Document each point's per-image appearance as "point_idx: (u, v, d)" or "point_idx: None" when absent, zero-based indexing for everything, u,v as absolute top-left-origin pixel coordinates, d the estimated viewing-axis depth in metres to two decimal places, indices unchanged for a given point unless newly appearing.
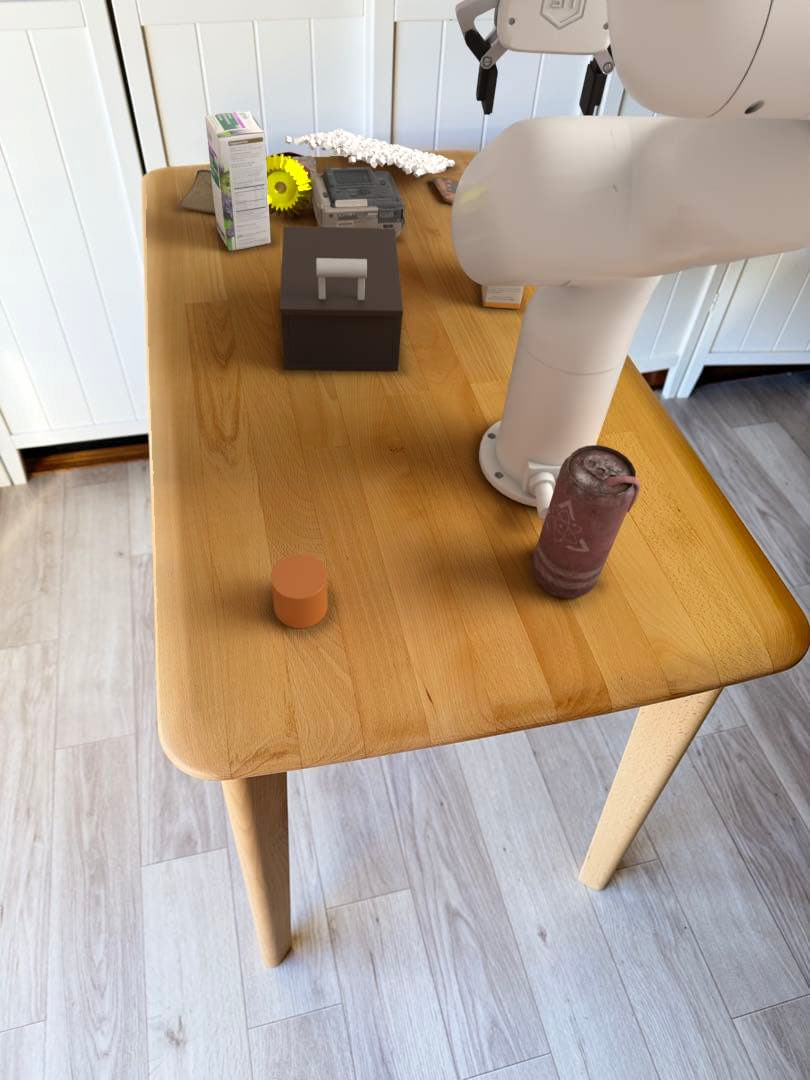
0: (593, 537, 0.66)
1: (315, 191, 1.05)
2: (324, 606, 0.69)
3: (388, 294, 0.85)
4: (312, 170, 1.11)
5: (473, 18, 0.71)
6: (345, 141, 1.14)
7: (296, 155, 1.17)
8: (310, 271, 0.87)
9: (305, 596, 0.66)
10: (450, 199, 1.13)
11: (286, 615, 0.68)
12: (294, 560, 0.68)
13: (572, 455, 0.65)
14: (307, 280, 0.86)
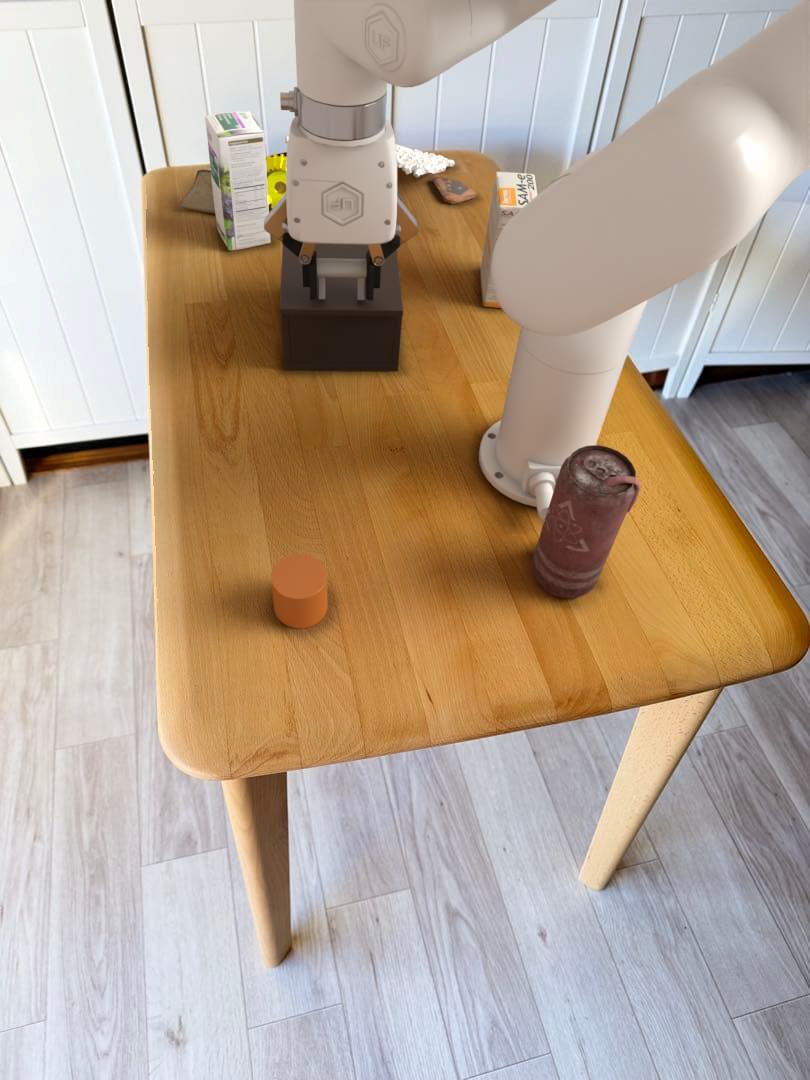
0: (593, 537, 0.66)
1: None
2: (324, 606, 0.69)
3: (388, 294, 0.85)
4: None
5: (280, 226, 0.77)
6: None
7: None
8: None
9: (305, 596, 0.66)
10: (450, 199, 1.13)
11: (286, 615, 0.68)
12: (294, 560, 0.68)
13: (572, 455, 0.65)
14: None
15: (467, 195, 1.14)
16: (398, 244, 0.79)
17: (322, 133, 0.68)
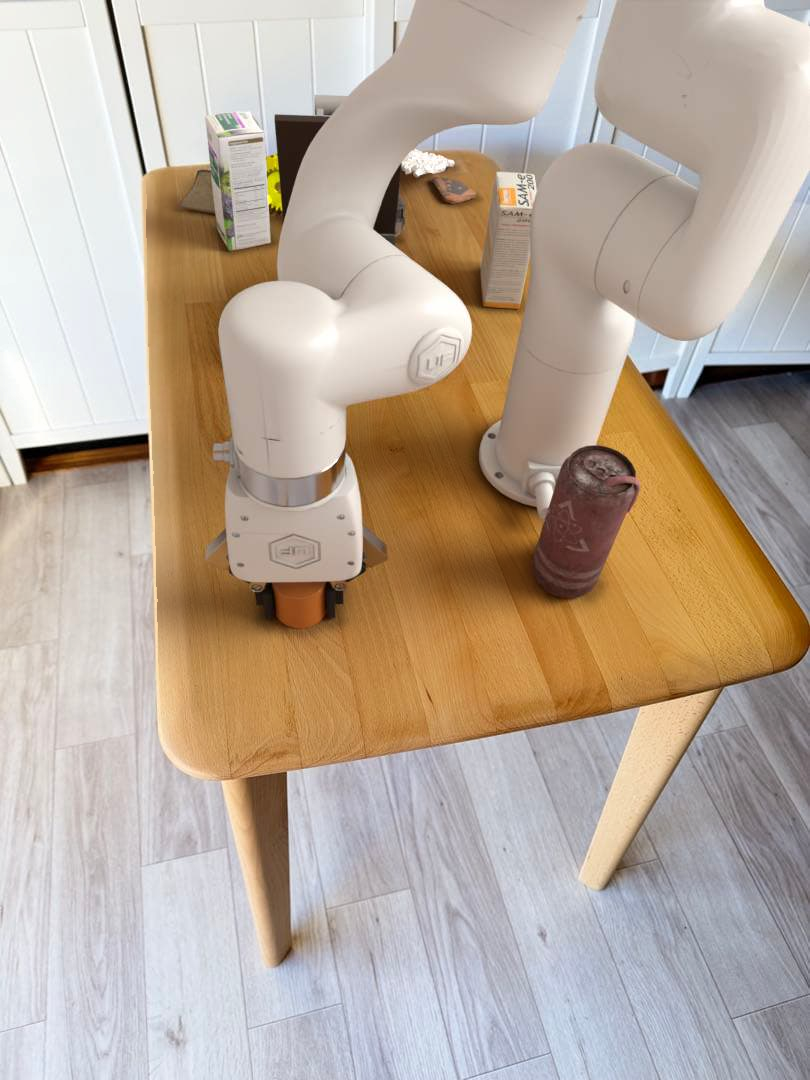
0: (593, 537, 0.66)
1: None
2: (324, 606, 0.69)
3: None
4: None
5: (225, 558, 0.64)
6: None
7: None
8: None
9: (305, 596, 0.66)
10: (450, 199, 1.13)
11: (286, 615, 0.68)
12: None
13: (572, 455, 0.65)
14: None
15: (467, 195, 1.14)
16: (363, 570, 0.66)
17: (265, 499, 0.54)
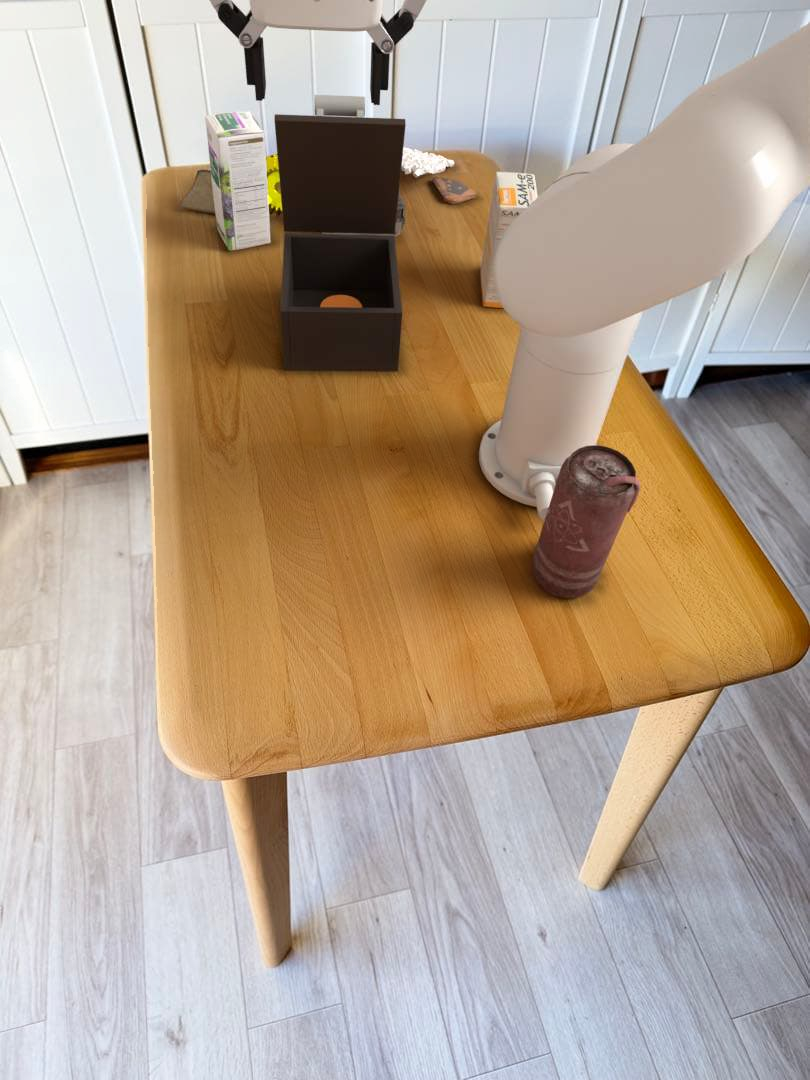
0: (593, 537, 0.66)
1: None
2: None
3: None
4: None
5: None
6: None
7: None
8: None
9: None
10: (450, 199, 1.13)
11: None
12: (337, 298, 0.90)
13: (572, 455, 0.65)
14: None
15: (467, 195, 1.14)
16: (411, 23, 0.64)
17: None
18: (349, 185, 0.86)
